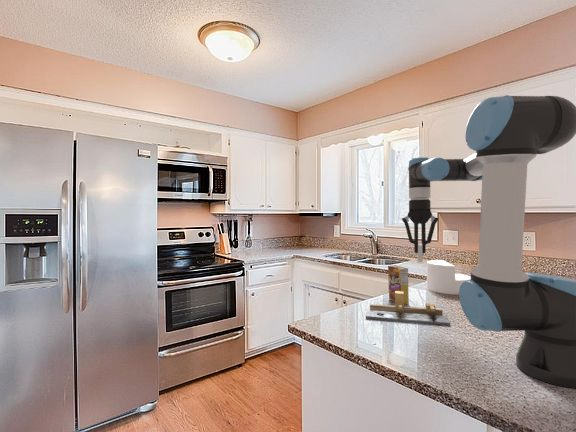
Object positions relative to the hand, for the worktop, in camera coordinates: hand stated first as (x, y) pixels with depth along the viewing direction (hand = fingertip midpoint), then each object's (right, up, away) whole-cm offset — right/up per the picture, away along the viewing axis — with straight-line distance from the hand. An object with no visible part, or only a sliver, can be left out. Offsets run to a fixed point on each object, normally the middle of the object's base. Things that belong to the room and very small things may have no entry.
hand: (419, 261), depth 123 cm
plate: (-7, -20, -4) cm, 22 cm away
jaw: (-8, -20, 0) cm, 21 cm away
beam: (-6, -20, -1) cm, 21 cm away
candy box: (-2, -20, +18) cm, 27 cm away
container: (+30, -20, +39) cm, 53 cm away
